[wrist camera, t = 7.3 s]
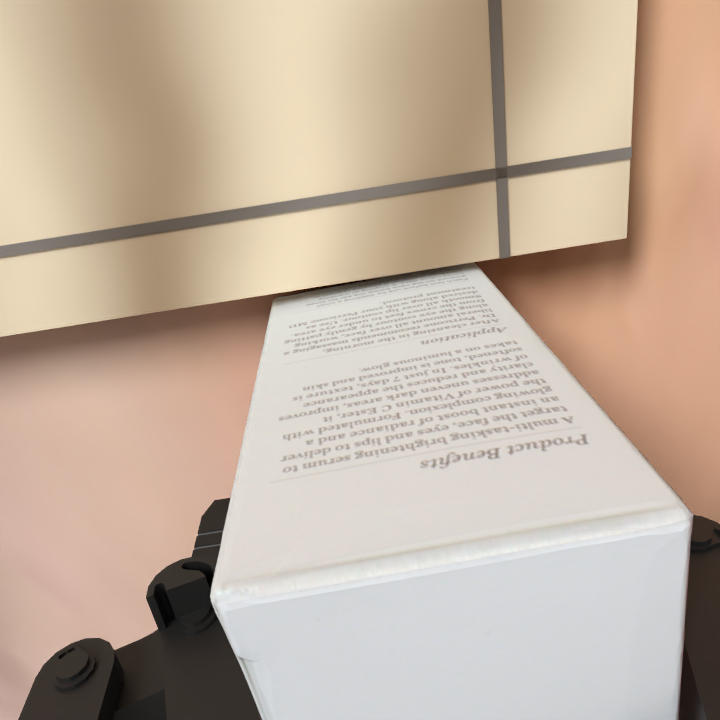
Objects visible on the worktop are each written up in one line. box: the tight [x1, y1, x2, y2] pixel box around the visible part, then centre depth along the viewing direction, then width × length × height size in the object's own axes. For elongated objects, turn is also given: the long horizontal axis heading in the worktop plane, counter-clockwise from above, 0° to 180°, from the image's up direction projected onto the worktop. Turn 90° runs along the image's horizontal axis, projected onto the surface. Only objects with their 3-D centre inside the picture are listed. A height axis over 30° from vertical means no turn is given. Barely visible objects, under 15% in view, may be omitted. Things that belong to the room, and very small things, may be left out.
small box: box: [210, 262, 693, 720], centre depth 13 cm, size 8×6×10 cm
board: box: [0, 0, 638, 337], centre depth 13 cm, size 22×12×2 cm, turn 98°
